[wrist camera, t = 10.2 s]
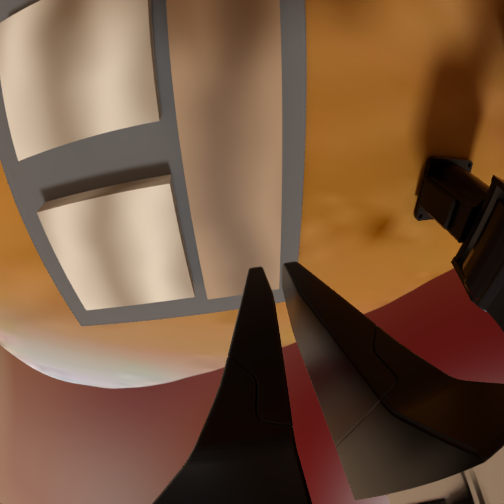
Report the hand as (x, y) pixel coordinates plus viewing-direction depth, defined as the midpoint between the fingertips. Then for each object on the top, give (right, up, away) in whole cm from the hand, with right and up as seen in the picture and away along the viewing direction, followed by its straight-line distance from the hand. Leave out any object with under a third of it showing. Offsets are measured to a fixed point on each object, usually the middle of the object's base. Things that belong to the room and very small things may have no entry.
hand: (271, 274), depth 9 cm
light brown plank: (-2, +8, +8) cm, 12 cm away
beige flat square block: (-11, +1, +12) cm, 16 cm away
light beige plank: (-11, +12, +3) cm, 17 cm away
